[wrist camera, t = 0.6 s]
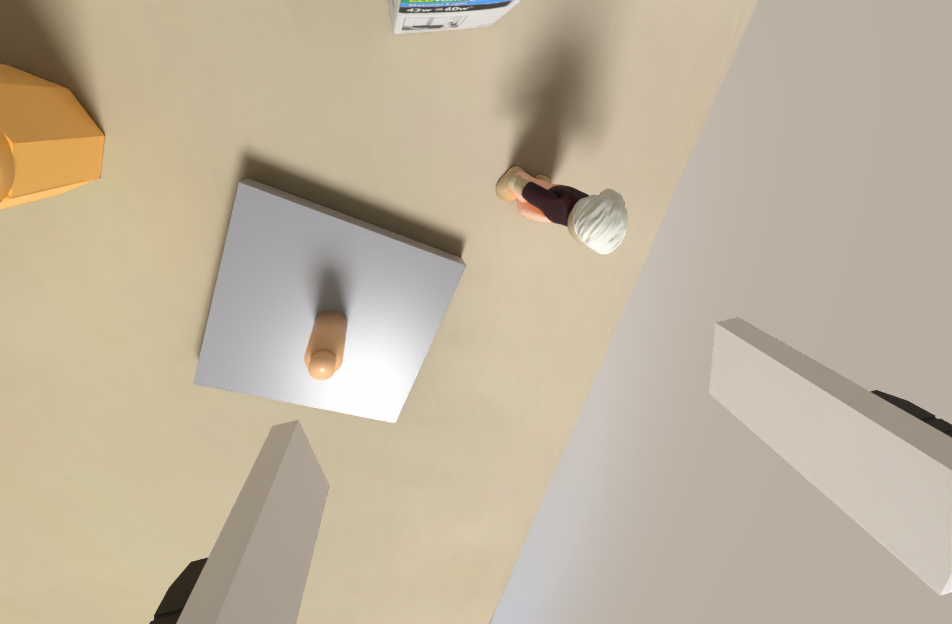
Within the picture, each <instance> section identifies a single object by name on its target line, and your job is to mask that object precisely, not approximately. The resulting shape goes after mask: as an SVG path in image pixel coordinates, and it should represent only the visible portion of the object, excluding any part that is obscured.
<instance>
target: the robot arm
mask: <svg viewBox="0 0 952 624" xmlns="http://www.w3.org/2000/svg"><path fill="white" fill-rule="evenodd" d="M709 393H710V394H711V395H712V396H713V397H714V398H715V399H717V400H718V401H719V402H720V403H721V404H722V405H723V406H724V407H726V408H727V409H728V410H729V411H730V412H731V413H732V414H734V415H735V416H736V417H737V418H738V419H739V420H740V421H741V422H743V423H744V424H745V425H746V426H747V427H748V428H749V429H751V430H752V431H753V432H754V433H755V434H756V435H757V436H759V437H760V438H761V439H762V440H763V441H764V442H765V443H767V444H768V445H769V446H770V447H771V448H772V449H773V450H775V451H776V452H777V453H778V454H779V455H780V456H781V457H783V458H784V459H785V460H786V461H787V462H788V463H789V464H791V465H792V466H793V467H794V468H795V469H796V470H797V471H798V472H800V473H801V474H802V475H803V476H804V477H805V478H806V479H808V480H809V481H810V482H811V483H812V484H813V485H815V486H816V487H817V488H818V489H819V490H820V491H821V492H822V493H824V494H825V495H826V496H827V497H828V498H829V499H830V500H832V501H833V502H834V503H835V504H836V505H837V506H839V507H840V508H841V509H842V510H843V511H844V512H845V513H846V514H848V515H849V516H850V517H851V518H852V519H853V520H854V521H855V522H857V523H858V524H859V525H860V526H861V527H862V528H863V529H865V530H866V531H867V532H868V533H869V534H870V535H872V536H873V537H874V538H875V539H876V540H877V541H878V542H879V543H881V544H882V545H883V546H884V547H885V548H886V549H887V550H889V551H890V552H891V553H892V554H893V555H894V556H895V557H897V558H898V559H899V560H900V561H901V562H902V563H903V564H905V565H906V566H907V567H908V568H909V569H910V570H911V571H912V572H914V573H915V574H916V575H917V576H918V577H919V578H920V579H922V580H923V581H924V582H925V583H926V584H927V585H928V586H930V587H931V588H932V589H933V590H934V591H935V592H936V593H938V594H939V595H943V594H947V593H950V592H952V425H951V424H950V423H948V422H946V421H944V420H942V419H937V418H935V415H933V414H931V413H929V412H927V411H926V410H924V409H922V408H920V407H918V406H916V405H914V404H913V403H911V402H909V401H907V400H904V399H901V398H898V397H895V396H892V395H889V394H886V393H883V392H881V391H878V390H875V391H871V392H870V391H868V390H866V389H864V388H863V387H861V386H859V385H857V384H856V383H854V382H852V381H850V380H849V379H847V378H845V377H843V376H841V375H840V374H838V373H836V372H834V371H833V370H831V369H829V368H827V367H825V366H823V365H822V364H820V363H818V362H817V361H815V360H813V359H811V358H809V357H808V356H806V355H804V354H802V353H801V352H799V351H797V350H795V349H793V348H792V347H790V346H788V345H786V344H785V343H783V342H781V341H779V340H777V339H776V338H774V337H772V336H770V335H769V334H767V333H765V332H763V331H762V330H760V329H758V328H756V327H755V326H753V325H751V324H749V323H747V322H746V321H744V320H742V319H740V318H739V317H737V318H733V319H729V320H725V321H720V322H716V323H715V332H714V344H713V355H712V367H711V378H710V389H709ZM328 489H329V484H328V481H327V479H326V477H325V475H324V473H323V471H322V469H321V467H320V465H319V462H318V460H317V458H316V456H315V454H314V452H313V450H312V448H311V445H310V443H309V441H308V439H307V437H306V435H305V433H304V431H303V429H302V426H301V424H300V422H299V420H297V421H292V422H288V423H284V424H279V425H275V426H272V428H271V430H270V433H269V435H268V437H267V439H266V441H265V443H264V445H263V447H262V449H261V451H260V453H259V455H258V457H257V459H256V461H255V463H254V465H253V467H252V469H251V471H250V474H249V476H248V478H247V480H246V482H245V484H244V486H243V488H242V490H241V492H240V494H239V496H238V498H237V500H236V502H235V504H234V506H233V508H232V510H231V512H230V515H229V517H228V519H227V521H226V523H225V525H224V527H223V529H222V531H221V533H220V535H219V537H218V539H217V541H216V543H215V545H214V547H213V549H212V551H211V553H210V556H209V558H205V559H201V560H197V561H193V562H191V563H190V564H189V565H188V566H187V567H186V568H185V570H184V571H183V572H182V573H181V574H180V575H179V577H178V578H177V579H176V580H175V581H174V583H173V584H172V585H171V586H170V587H169V589H168V591H167V592H166V594H165V596H164V598H163V600H162V602H161V604H160V605H159V607H158V609H157V611H156V613H155V615H154V620H153V621H151V622H150V624H296V621H297V616H298V612H299V608H300V604H301V600H302V596H303V592H304V588H305V584H306V579H307V575H308V571H309V567H310V563H311V559H312V555H313V551H314V547H315V542H316V538H317V534H318V530H319V526H320V522H321V518H322V514H323V510H324V506H325V501H326V497H327V493H328Z"/></svg>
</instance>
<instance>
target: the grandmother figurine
mask: <svg viewBox="0 0 952 624" xmlns="http://www.w3.org/2000/svg"><path fill="white" fill-rule="evenodd" d="M496 193H497V195H498V197H499V198H500V199H502V200H503V201H505V202H512V201H514V200H516V199H518V207H519V211H520V212H521V214H522V215H523V216H525V217H527V218H530V219H532V220H536V221H541V222H551V223H557V224H562V225H564V226H567V227H568V230H569V233H570V235H571V236H572V237H573V239H574V240H575V241H577V242H578V243H580V244H583V245H587V246H588V247H589V248H591V249H593V250H594V251H596V252H598V253H600V254H608V253H610V252H612V251H613V250H615V249H616V248H617V247H618V246H619V245H620V243H621V242H622V240H623V238H624V236H625V234H626V229H627V222H628V217H627V210H626V208H625V201H624V200H623V197H622V196H621V194H619V193H617V192H615V191H614V190H611V189H606V190H604V191H602V192H601V193H600V195H591V196H589V195H587V194H585V193H583V192H581V191H579V190H577V189H575V188H572V187H569V186H564V185H557V184H551V181H550V179H549V178H548V177H547V176H544V175H537V176H536V177H534V178H533V177H531V176H530V175H529V174H527V173H526V172H525V171H524V170H523V169H522V168H521V167H518V166H514V167H512V168H510V169H509V170H508V172H507V173H506V174H505V175H504V176H503V177H502V178H501V180H500V181H499V182H498V184H497V186H496Z"/></svg>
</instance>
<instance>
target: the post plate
mask: <svg viewBox="0 0 952 624" xmlns="http://www.w3.org/2000/svg"><path fill="white" fill-rule="evenodd" d="M465 267H466V265H465V263H464V261H463V260H462V258H461V257H458V256H455V255H453V254H450V253H447V252H445V251H442V250H439V249H437V248H434V247H431V246H429V245H426V244H423V243H421V242H418V241H415V240H413V239H410V238H407V237H405V236H402V235H399V234H397V233H394V232H391V231H389V230H386V229H383V228H381V227H378V226H375V225H373V224H370V223H367V222H365V221H362V220H359V219H357V218H354V217H351V216H349V215H346V214H343V213H341V212H338V211H335V210H333V209H330V208H327V207H325V206H322V205H319V204H317V203H314V202H311V201H309V200H306V199H303V198H301V197H298V196H295V195H293V194H290V193H287V192H285V191H282V190H279V189H277V188H274V187H271V186H269V185H266V184H263V183H261V182H258V181H255V180H253V179H250V178H246V179H244V180H242V181H240V182H239V184H238V188H237V193H236V197H235V202H234V206H233V210H232V215H231V219H230V224H229V228H228V232H227V237H226V241H225V246H224V250H223V254H222V259H221V263H220V268H219V272H218V277H217V281H216V285H215V290H214V294H213V299H212V303H211V307H210V312H209V316H208V321H207V325H206V329H205V334H204V338H203V343H202V347H201V352H200V356H199V360H198V365H197V369H196V374H195V378H194V382H193V384H195V385H200V386H206V387H211V388H216V389H221V390H226V391H231V392H237V393H242V394H247V395H252V396H257V397H263V398H268V399H273V400H278V401H283V402H289V403H294V404H299V405H304V406H309V407H314V408H320V409H325V410H330V411H335V412H340V413H346V414H351V415H356V416H361V417H366V418H372V419H377V420H382V421H387V422H392V423H396V420H397V418H398V416H399V414H400V411H401V409H402V407H403V405H404V403H405V400H406V398H407V396H408V394H409V391H410V389H411V387H412V385H413V383H414V380H415V378H416V376H417V374H418V371H419V369H420V367H421V365H422V363H423V360H424V358H425V356H426V354H427V352H428V349H429V347H430V345H431V343H432V340H433V338H434V336H435V334H436V332H437V329H438V327H439V325H440V323H441V320H442V318H443V316H444V314H445V312H446V309H447V307H448V305H449V303H450V300H451V298H452V296H453V294H454V292H455V289H456V287H457V285H458V283H459V280H460V278H461V276H462V274H463V272H464V269H465Z"/></svg>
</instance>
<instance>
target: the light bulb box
mask: <svg viewBox="0 0 952 624" xmlns="http://www.w3.org/2000/svg"><path fill="white" fill-rule="evenodd" d="M520 1H521V0H388V4H389V10H390V16H391V23H392V28H393V32H394V33H395V34H406V33H419V32H432V31H445V30H457V29H469V28H481V27H488V26H491V25H492V24H494V23H495V22H496V21H497V20H498V19H499V18H501V17H502V16H503V15H504V14H505V13H507V12H508V11H509V10H510V9H512V8H513V7H514V6H515V5H516V4H518V3H519V2H520Z"/></svg>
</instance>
